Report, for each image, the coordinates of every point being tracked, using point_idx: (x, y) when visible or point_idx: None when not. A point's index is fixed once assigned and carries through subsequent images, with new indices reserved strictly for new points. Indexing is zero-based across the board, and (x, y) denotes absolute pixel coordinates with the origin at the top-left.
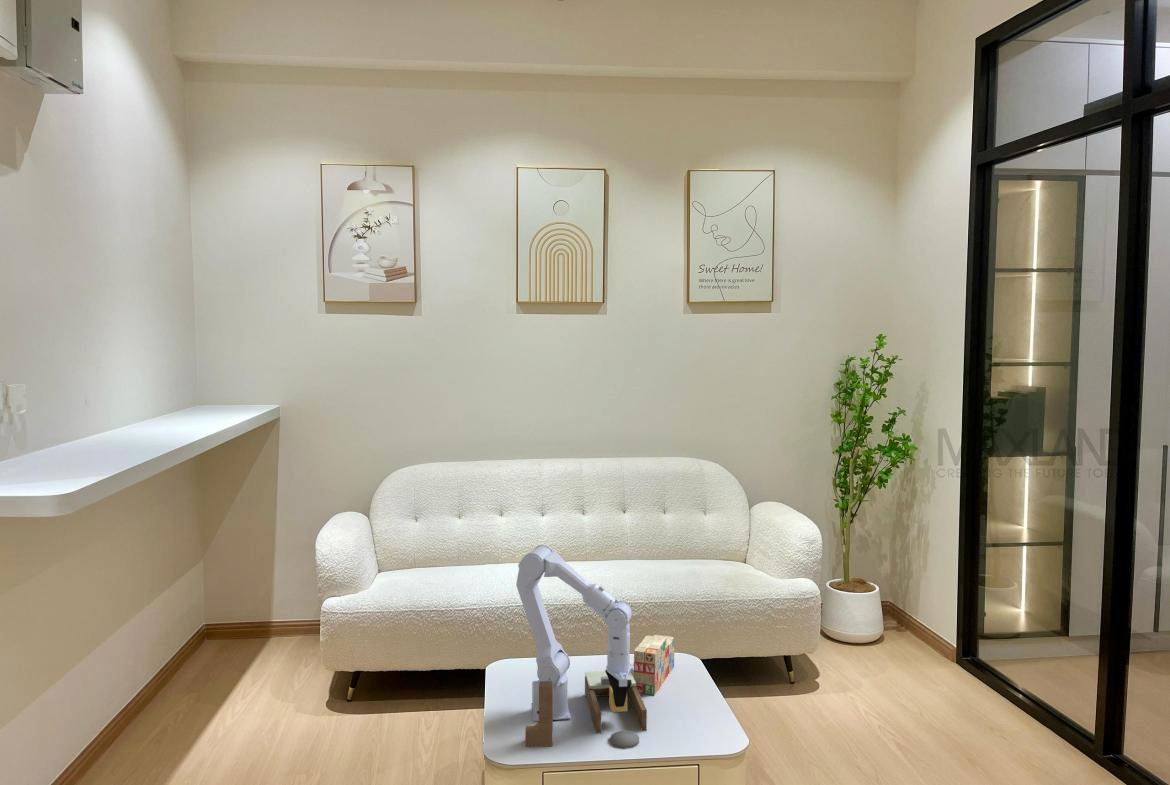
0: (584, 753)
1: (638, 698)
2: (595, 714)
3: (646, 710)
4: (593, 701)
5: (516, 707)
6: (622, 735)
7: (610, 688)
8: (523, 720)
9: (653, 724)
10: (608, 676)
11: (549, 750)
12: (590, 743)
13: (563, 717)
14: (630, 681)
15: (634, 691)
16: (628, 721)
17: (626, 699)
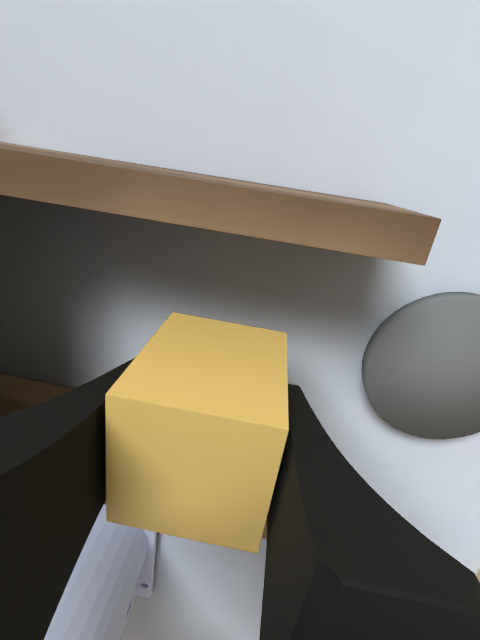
0: (454, 539)
1: (181, 208)
2: None
3: (440, 221)
4: None
5: None
6: (420, 377)
7: (164, 532)
8: (135, 607)
9: (325, 121)
10: (41, 638)
11: None
12: (386, 497)
13: None
14: (435, 619)
15: (33, 193)
16: (238, 269)
17: (286, 386)
